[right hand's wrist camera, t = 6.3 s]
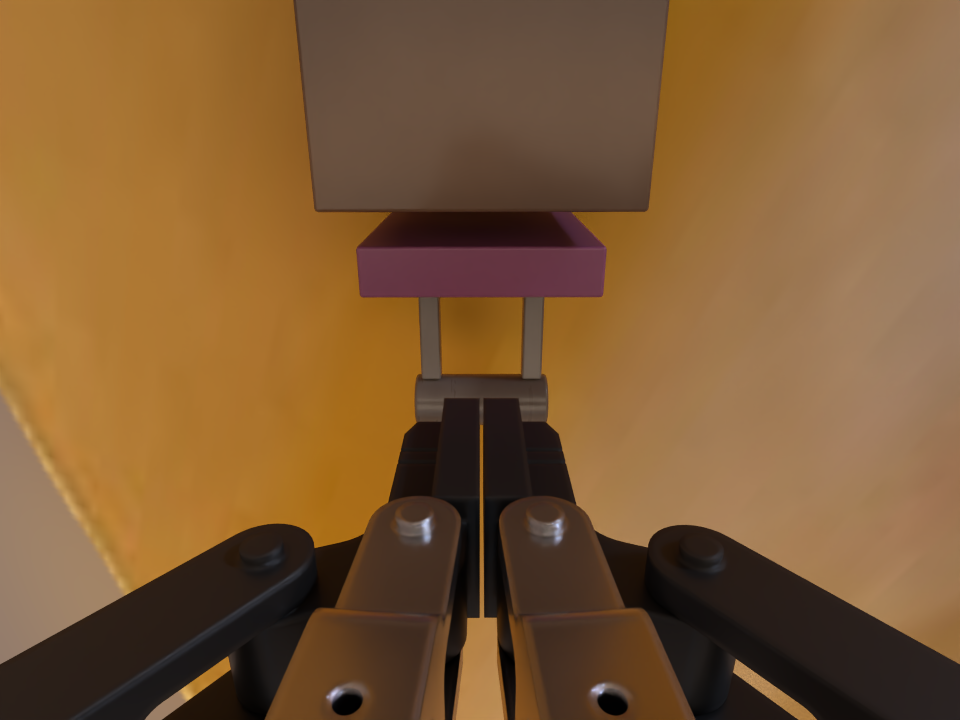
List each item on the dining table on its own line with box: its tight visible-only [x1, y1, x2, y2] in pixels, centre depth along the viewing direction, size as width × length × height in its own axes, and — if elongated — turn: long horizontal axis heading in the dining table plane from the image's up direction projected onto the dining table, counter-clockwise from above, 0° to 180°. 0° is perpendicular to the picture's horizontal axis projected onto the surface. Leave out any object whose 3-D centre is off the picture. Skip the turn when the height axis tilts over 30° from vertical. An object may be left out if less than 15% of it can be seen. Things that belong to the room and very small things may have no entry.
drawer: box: [356, 212, 607, 425], centre depth 15 cm, size 23×6×8 cm, turn 0°
